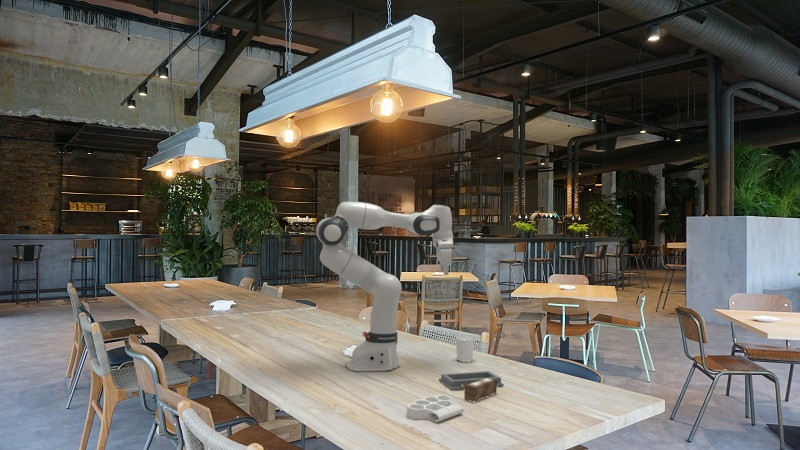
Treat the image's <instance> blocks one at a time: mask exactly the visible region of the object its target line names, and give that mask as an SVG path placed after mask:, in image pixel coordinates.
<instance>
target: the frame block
mask: <svg viewBox="0 0 800 450" xmlns="http://www.w3.org/2000/svg"><path fill="white" fill-rule="evenodd" d="M497 388H498V387H497V380H496V379H492V378H488V377H487V378H484V379H481V380H478V381H476V382H473V383H470V384H467V385H465V390H464V399H467V400H466V401H468V400H471V401H476V402H478V401H477V400H479V399H481V398H483V397H486V396H489V395H491V394H493V393H495V392H496V393H497ZM491 396H492V395H491ZM489 397H490V396H489ZM486 398H487V397H486ZM481 400H482V399H481ZM471 401H470V402H471ZM479 401H480V400H479Z"/></svg>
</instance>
